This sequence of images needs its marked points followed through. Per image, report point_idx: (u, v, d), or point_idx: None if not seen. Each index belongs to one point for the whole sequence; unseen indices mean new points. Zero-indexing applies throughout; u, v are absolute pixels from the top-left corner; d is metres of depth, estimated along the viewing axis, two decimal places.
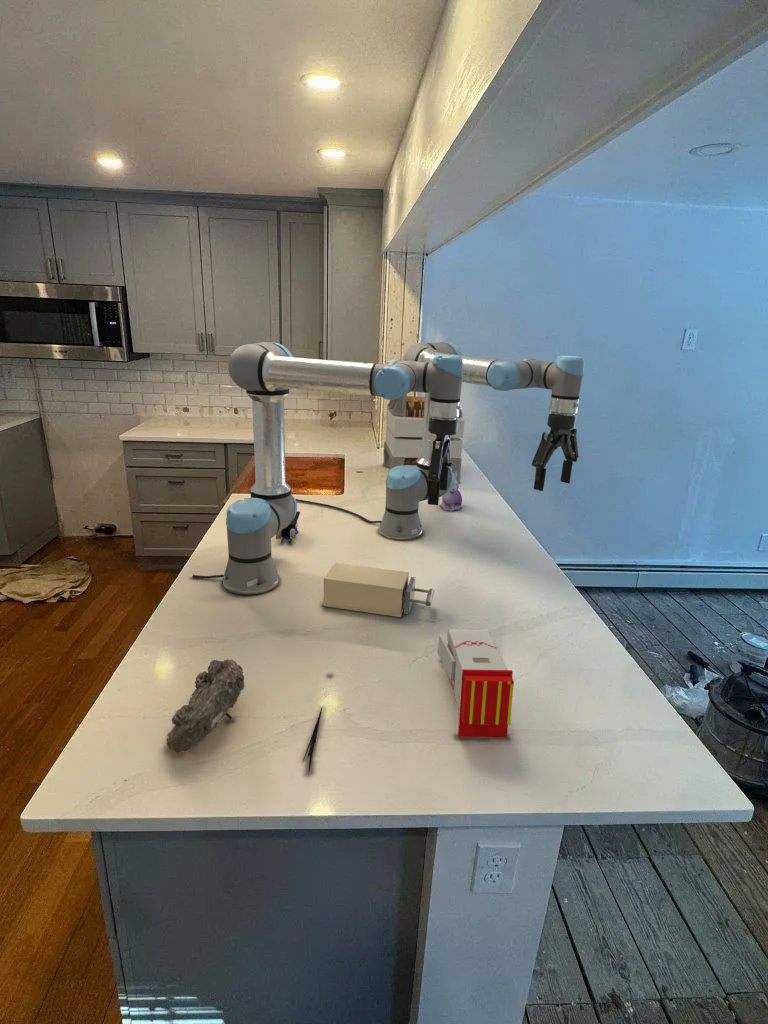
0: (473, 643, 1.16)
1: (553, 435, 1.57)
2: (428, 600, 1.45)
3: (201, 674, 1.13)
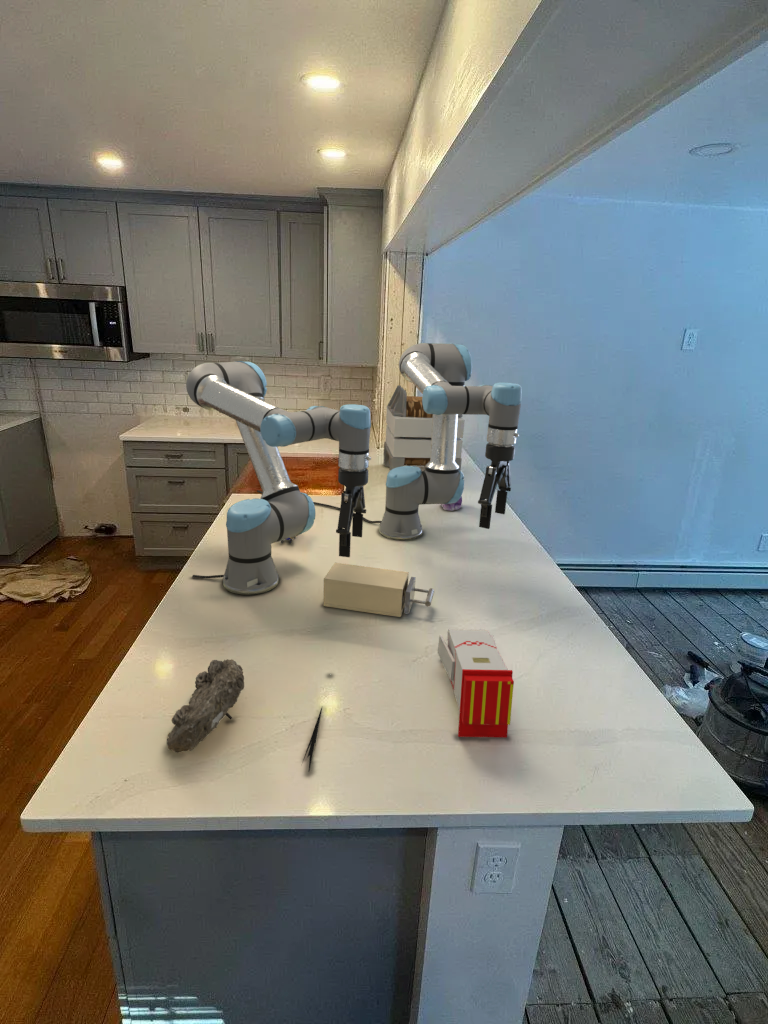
0: (473, 643, 1.16)
1: None
2: (428, 600, 1.45)
3: (201, 674, 1.13)
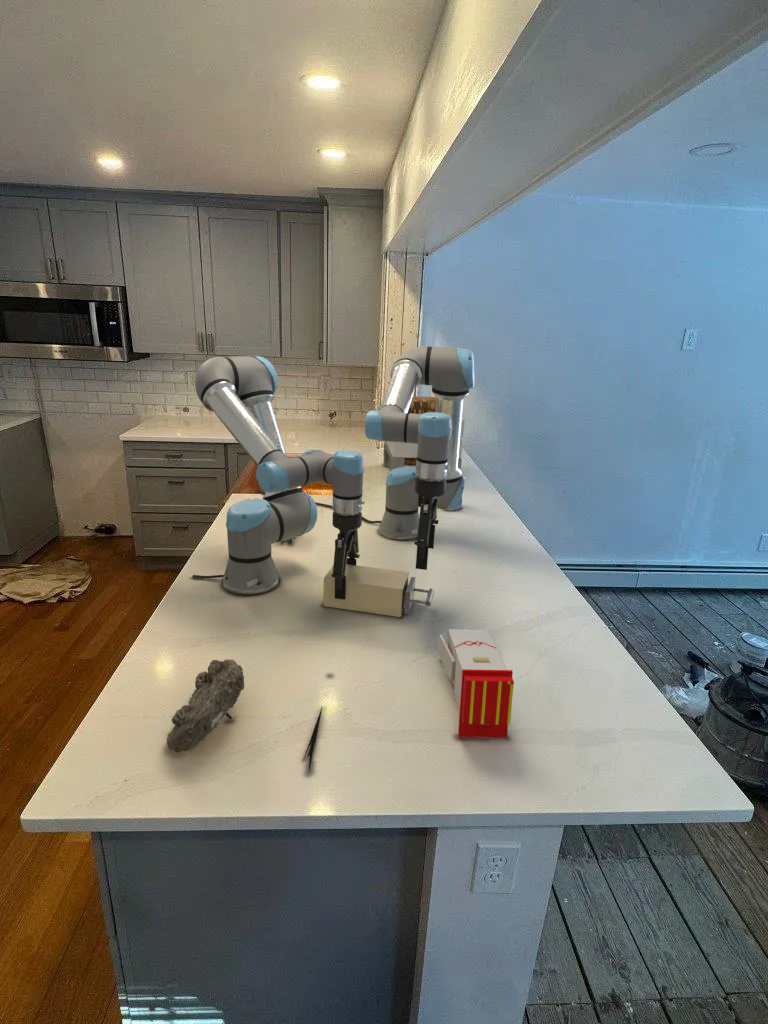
0: (473, 643, 1.16)
1: (429, 505, 1.35)
2: (428, 600, 1.45)
3: (201, 674, 1.13)
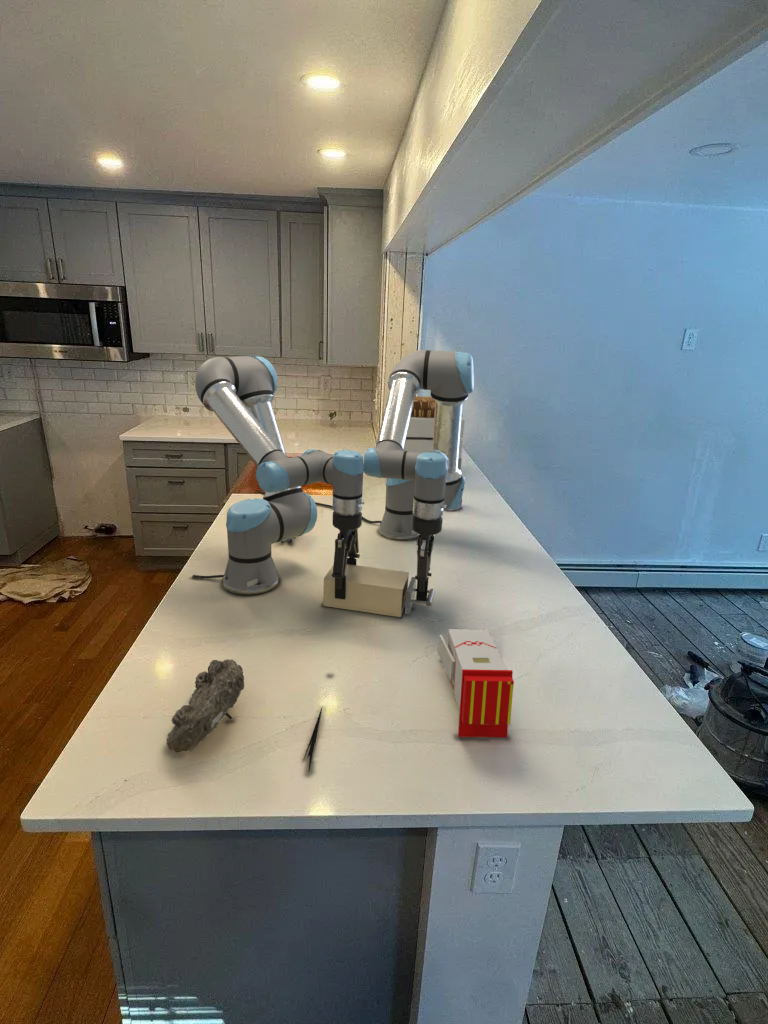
0: (473, 643, 1.16)
1: (426, 543, 1.39)
2: (429, 600, 1.45)
3: (201, 674, 1.13)
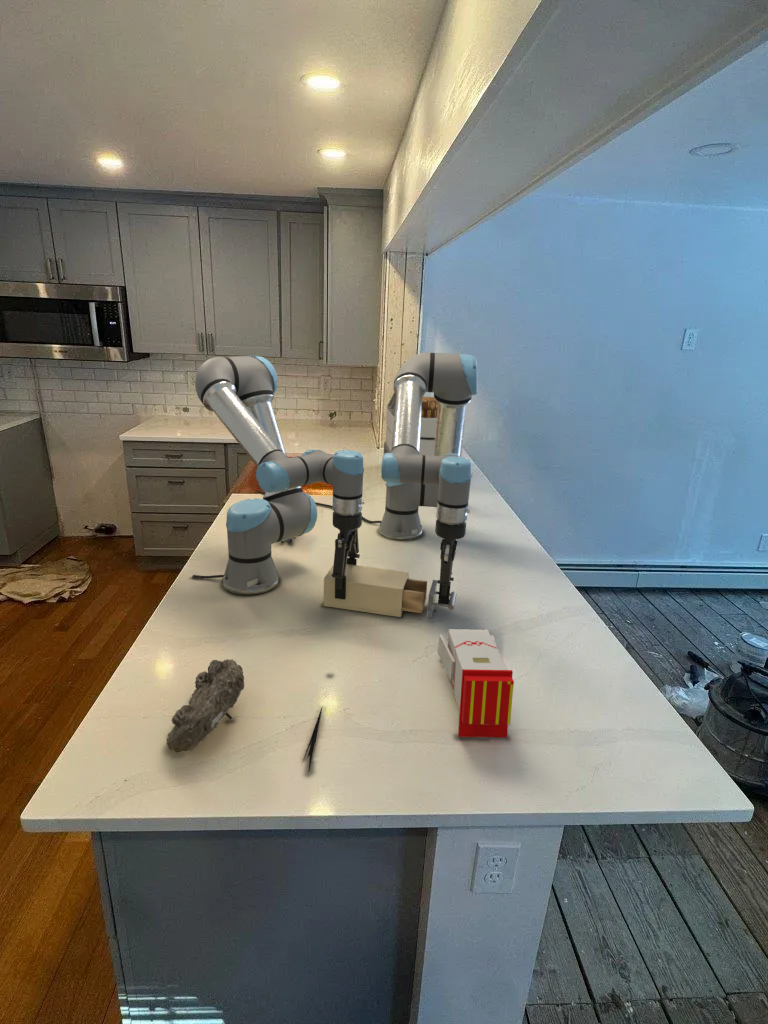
0: (473, 643, 1.16)
1: (450, 548, 1.38)
2: (451, 603, 1.44)
3: (201, 674, 1.13)
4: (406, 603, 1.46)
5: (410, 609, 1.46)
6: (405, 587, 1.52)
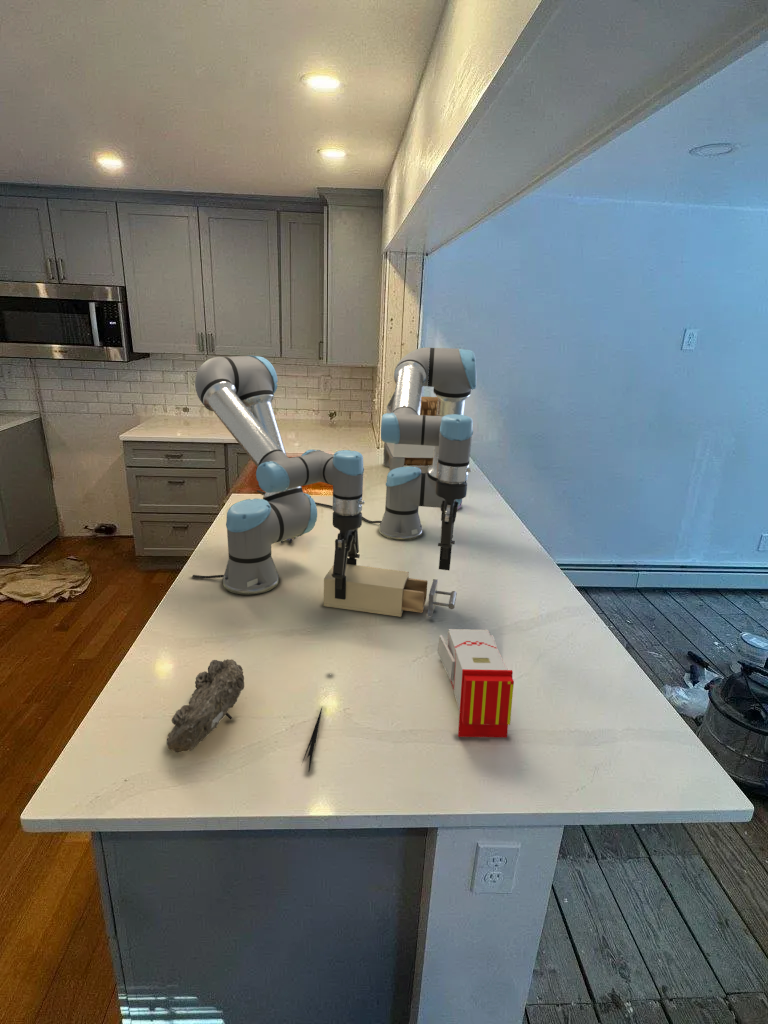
0: (473, 643, 1.16)
1: (451, 508, 1.35)
2: (451, 603, 1.44)
3: (201, 674, 1.13)
4: (406, 603, 1.46)
5: (410, 609, 1.46)
6: (405, 587, 1.52)
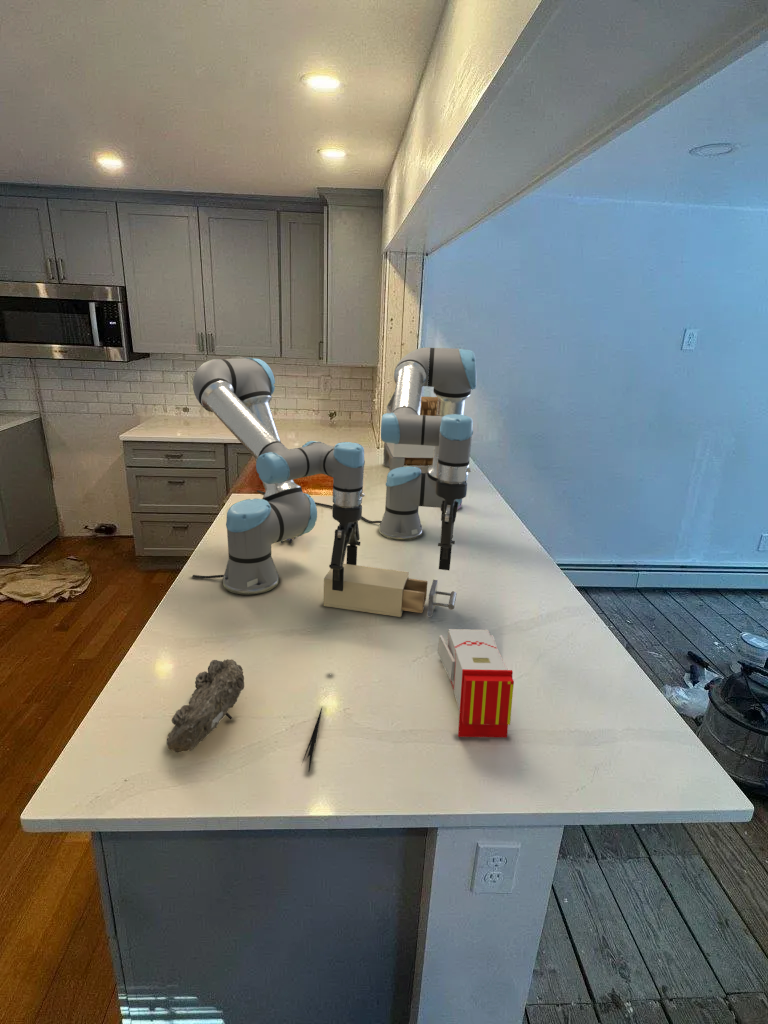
0: (473, 643, 1.16)
1: (451, 508, 1.35)
2: (451, 603, 1.44)
3: (201, 674, 1.13)
4: (406, 603, 1.46)
5: (410, 609, 1.46)
6: (405, 587, 1.52)
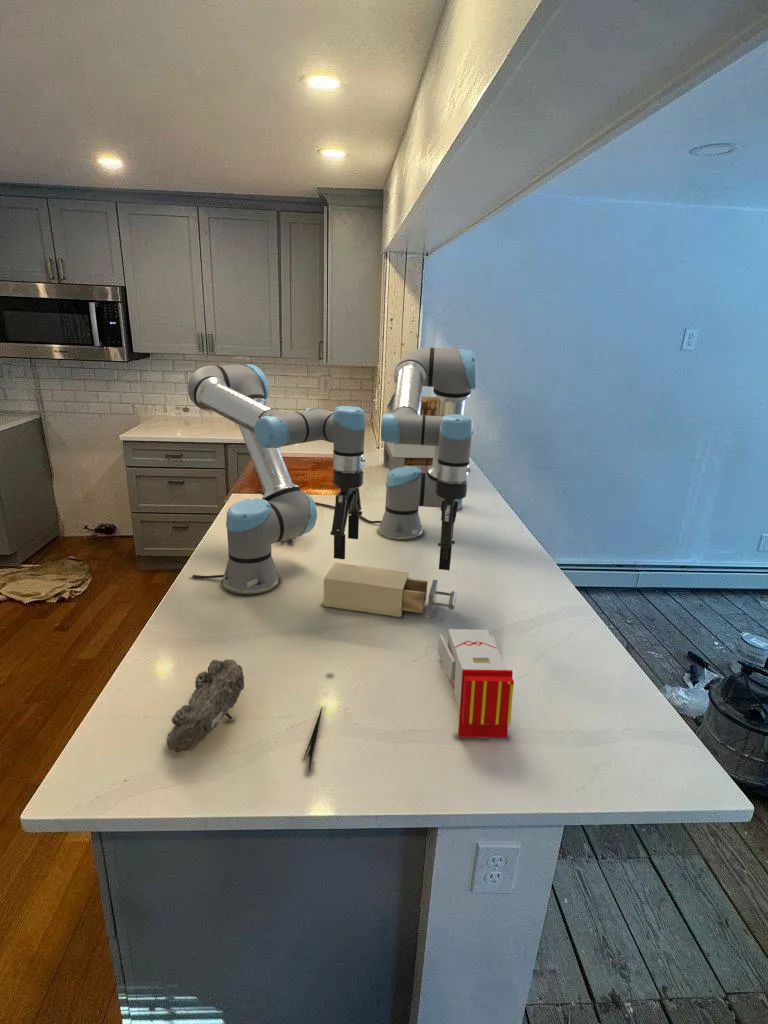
0: (473, 643, 1.16)
1: (451, 508, 1.35)
2: (451, 603, 1.44)
3: (201, 674, 1.13)
4: (406, 603, 1.46)
5: (410, 609, 1.46)
6: (405, 587, 1.52)
